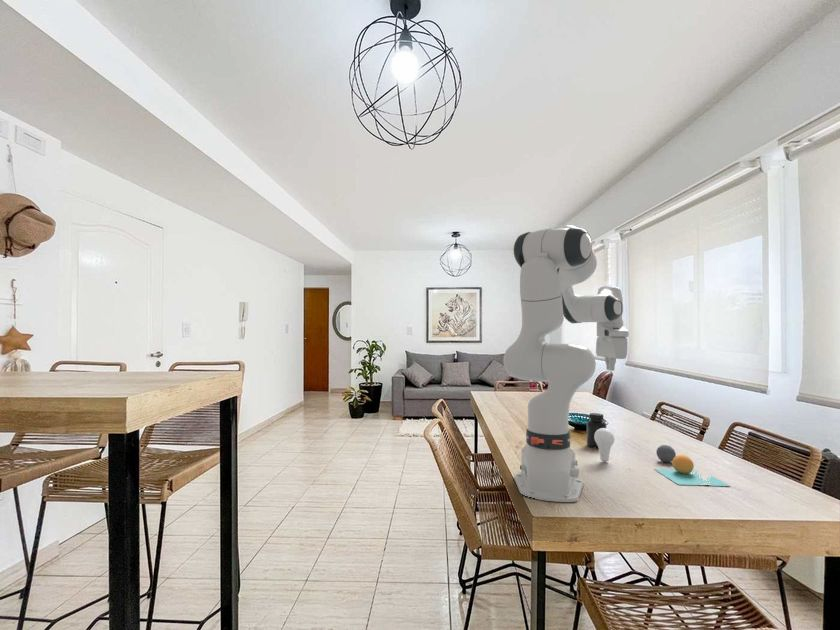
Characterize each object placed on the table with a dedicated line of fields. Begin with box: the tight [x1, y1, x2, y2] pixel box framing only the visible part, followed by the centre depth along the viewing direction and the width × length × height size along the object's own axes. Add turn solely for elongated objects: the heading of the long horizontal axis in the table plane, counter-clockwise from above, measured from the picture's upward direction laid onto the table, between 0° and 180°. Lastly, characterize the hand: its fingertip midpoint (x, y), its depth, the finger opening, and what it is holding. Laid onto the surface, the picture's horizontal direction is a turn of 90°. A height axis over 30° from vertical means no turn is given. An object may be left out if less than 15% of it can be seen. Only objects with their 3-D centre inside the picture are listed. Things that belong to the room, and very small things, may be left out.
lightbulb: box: [594, 427, 615, 463], centre depth 139 cm, size 6×6×11 cm
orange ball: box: [671, 454, 695, 474], centre depth 128 cm, size 6×6×6 cm
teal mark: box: [653, 468, 731, 487], centre depth 124 cm, size 14×14×1 cm
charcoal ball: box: [655, 444, 677, 463], centre depth 140 cm, size 6×6×6 cm
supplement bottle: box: [586, 412, 607, 449], centre depth 159 cm, size 7×7×12 cm
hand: (610, 370), depth 152 cm, fingers closed
